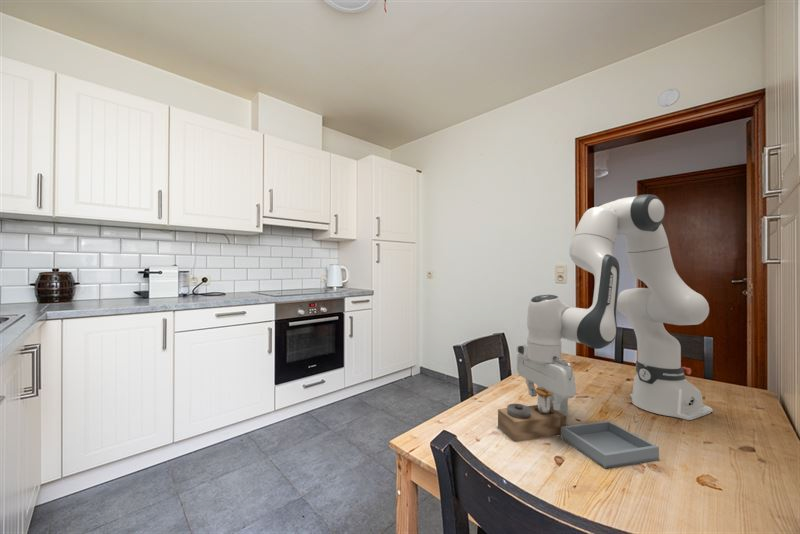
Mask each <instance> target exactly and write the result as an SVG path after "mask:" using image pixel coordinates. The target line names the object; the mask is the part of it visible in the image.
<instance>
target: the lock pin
mask: <svg viewBox="0 0 800 534" xmlns="http://www.w3.org/2000/svg"><path fill="white" fill-rule="evenodd" d="M535 390H536V393H537V405H538V412H539V413H540V414H542V415H547V414H550V396H551V395H552V392H550V391H548V390H546V389H544V388H542V387H538V386H537V387H535Z"/></svg>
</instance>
